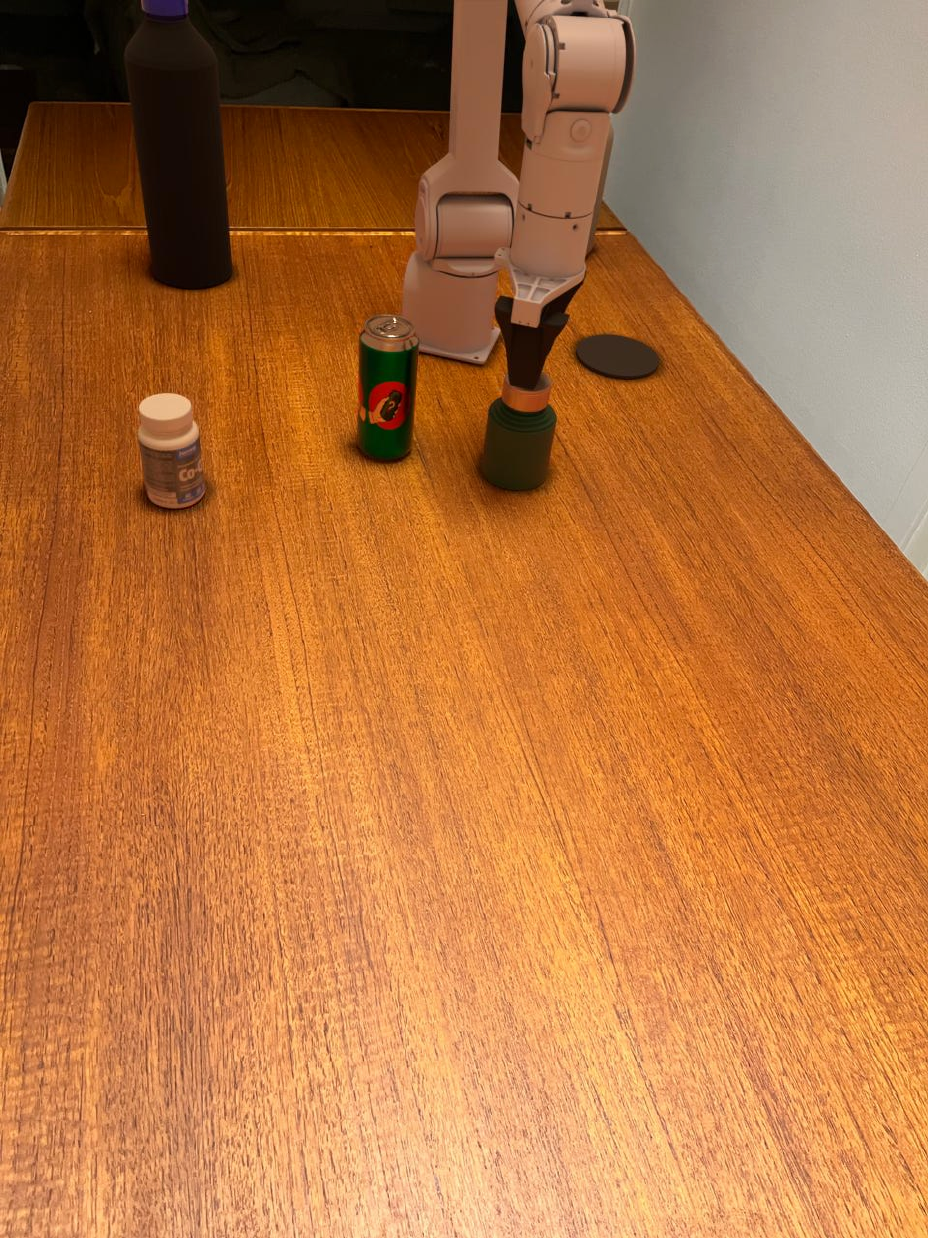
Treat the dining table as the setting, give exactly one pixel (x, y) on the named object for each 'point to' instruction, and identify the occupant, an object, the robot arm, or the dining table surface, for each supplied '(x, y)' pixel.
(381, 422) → the soda can
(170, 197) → the bottle
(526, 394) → the cap
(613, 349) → the coaster
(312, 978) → the dining table surface
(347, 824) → the dining table surface
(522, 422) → the green bottle
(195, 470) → the pill bottle
